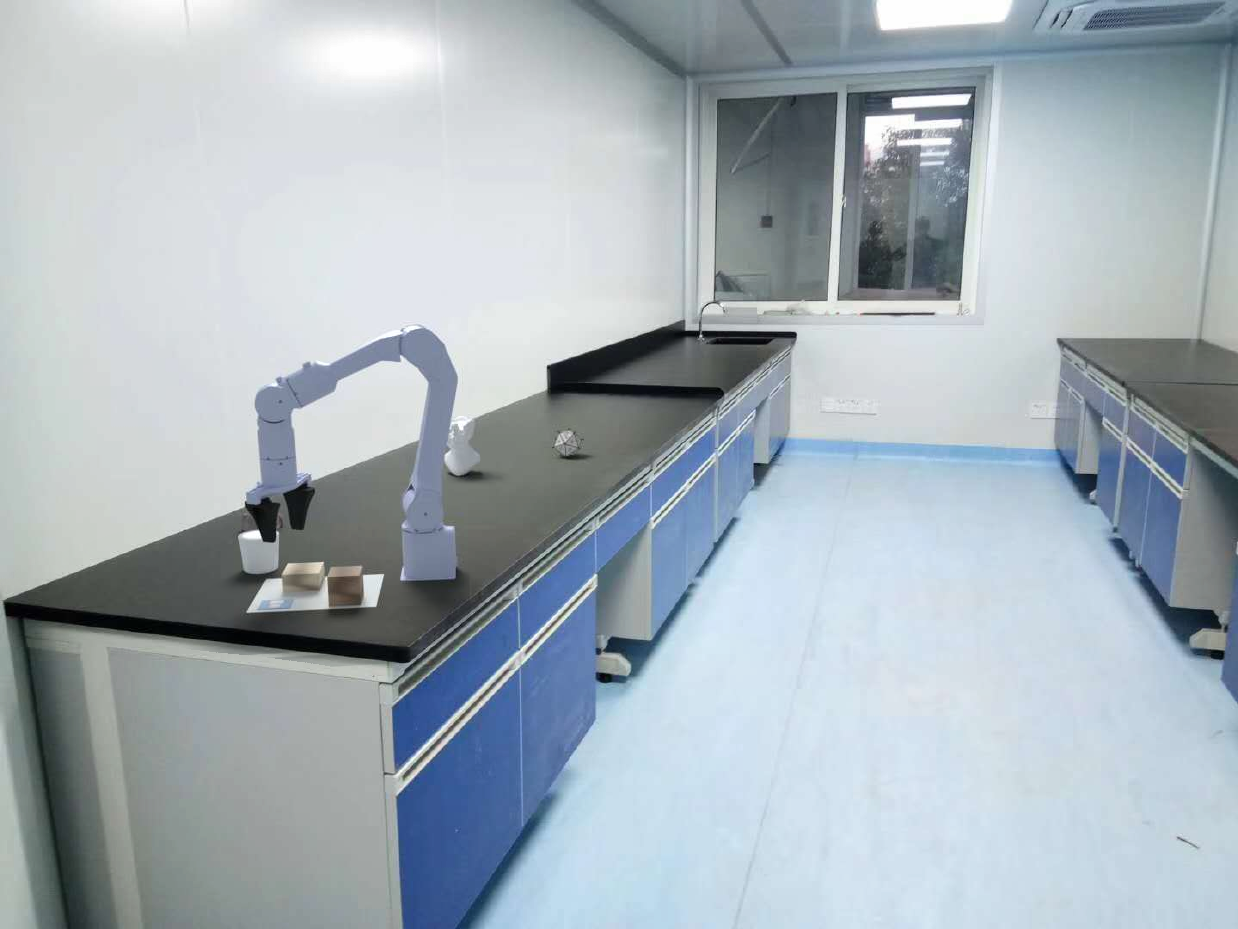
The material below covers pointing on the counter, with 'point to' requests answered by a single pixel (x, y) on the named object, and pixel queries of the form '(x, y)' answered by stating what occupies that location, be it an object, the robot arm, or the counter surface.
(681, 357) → the counter surface
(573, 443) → the game die
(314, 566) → the maple base block
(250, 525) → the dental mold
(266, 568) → the white tapered cup
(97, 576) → the counter surface
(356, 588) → the walnut block
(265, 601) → the plate
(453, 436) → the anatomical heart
